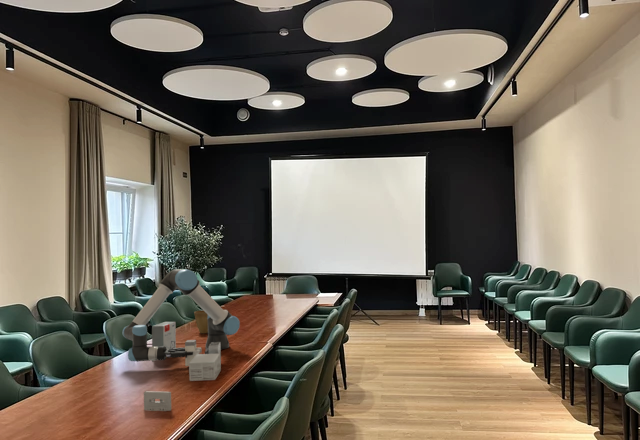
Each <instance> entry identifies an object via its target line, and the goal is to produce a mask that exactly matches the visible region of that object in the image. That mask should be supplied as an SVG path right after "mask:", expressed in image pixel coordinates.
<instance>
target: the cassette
mask: <svg viewBox="0 0 640 440" xmlns="http://www.w3.org/2000/svg"><path fill="white" fill-rule="evenodd" d="M156 400H157V401H156ZM143 410H144V411H149V412H167V411H168V412H171V411H172V392H171V391H150V390H148V391H147V390H146V391H144V392H143Z"/></svg>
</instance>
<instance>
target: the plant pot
mask: <svg viewBox="0 0 640 440" xmlns="http://www.w3.org/2000/svg"><path fill="white" fill-rule="evenodd" d="M193 313H194V318H195V323H196V327H197V330H198V332H199V334H208V320H207V318H208V314H207V313H206V312H205V311H204V310H203V309H201V310H196V311H194V312H193Z"/></svg>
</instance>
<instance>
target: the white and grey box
mask: <svg viewBox="0 0 640 440" xmlns="http://www.w3.org/2000/svg"><path fill="white" fill-rule="evenodd" d="M184 347H185V351H192V350H196V348H197V340H196V339H187V340H186V341H185V342H184ZM194 357H195V356H187V358H185V357H184V359H185V363H184V364H185V365H184V366H185V367H189V363H190V362H191V360H192V359H193V358H194Z"/></svg>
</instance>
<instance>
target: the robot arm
mask: <svg viewBox="0 0 640 440" xmlns="http://www.w3.org/2000/svg"><path fill="white" fill-rule="evenodd" d="M177 289H178V290H179V291H180V292H181V293H182V294H183V295H185V296H189V297H190V298H191V299H192V300H193V302H195V304H196V305H197V306H198V307H200V308H201V310H204V311H205V312H206V313H207V314H208V318H207V320H208V333H207V337H206V342H205V350H206V349H207V348H209V345H210V344H211V342H220V346H221V350H225V349H228V348H230V341H229V339H228V336H232V335H235V334H236V333H238V331H239V329H240V325H241V322H240V320H239V318H238V317H237V316H235V315H232V314H231V313H230V311H228V309H223V308H222V307H221V305H220V304H218V303H217V302H216V301H215V300H214V298H212V297H211V295H209V294H208V292H207V291H205V289H204V288H203V287H202V286H201V285H200V280H199V279H198V276H197V274H196V273H195V272H194V271H193V270H190V269H186V268H185V269H184V268H183V269H182V268H175V269H171V271H169V272H168V273H167V274H166V275H165V276H164V278H163V279H162V280H161V281H160V282H159V284H158V287H157V289H156V290H155V292H154V293H153V294H152V295H151V296H150V298H149V299H148V301H147V302H146V303H145V304H144V306H143V307H142V308H141V310H140V311H139V312H138V313H137V315H136V316H135V317H134V319H133V320H132V321H131V322H130V323H129V325H127V326H124V327H123V329H122V331H121V332H122V336H123V337H124V338H125V339H126V340H130V341H132V347H129V349H128V351H127V352H128V353H127V358H128V361H130V362H136V363H137V362H150V361H151V362H152V363H153V362H154V361H165V360H166V359H171V358H174V359H175V358H184V359H185V358H187V356H196V355H197V354H202V351H203V349H202V347H196V350H192V351H185V346H184V347H176V348H171V349H169V350H167V349H166V347H165V346H159V347H158V346H154V347H152V346H148V330H147V329H148V327H147V324H148V323H149V322H150V320H151V319H152V318H153V316H154V315H155V314H156V313H157V312H158V310H159V308H160V307H161V306H162V305H163V303H164V302H165V301H166V300H167V298H168V297H169V296H170V295H171V294H174V292H175V291H176V290H177Z"/></svg>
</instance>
